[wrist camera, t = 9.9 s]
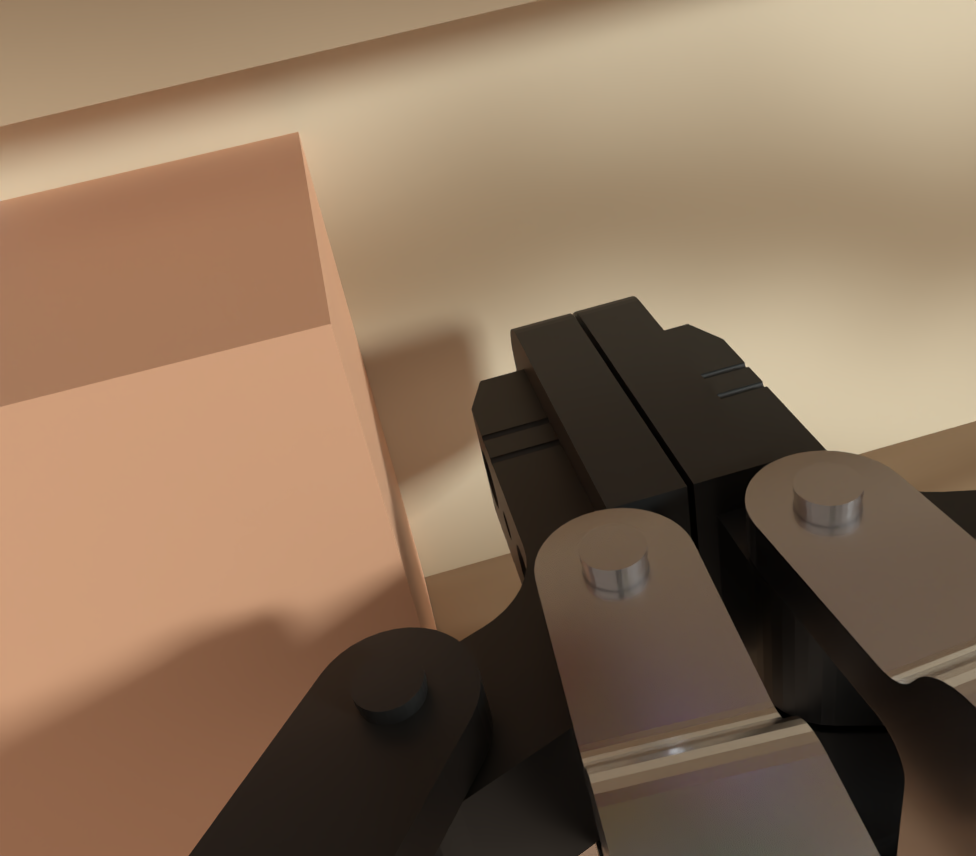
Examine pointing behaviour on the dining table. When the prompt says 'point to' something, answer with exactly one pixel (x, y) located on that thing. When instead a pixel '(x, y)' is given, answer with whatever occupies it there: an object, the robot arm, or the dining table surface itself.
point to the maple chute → (569, 197)
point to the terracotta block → (178, 494)
